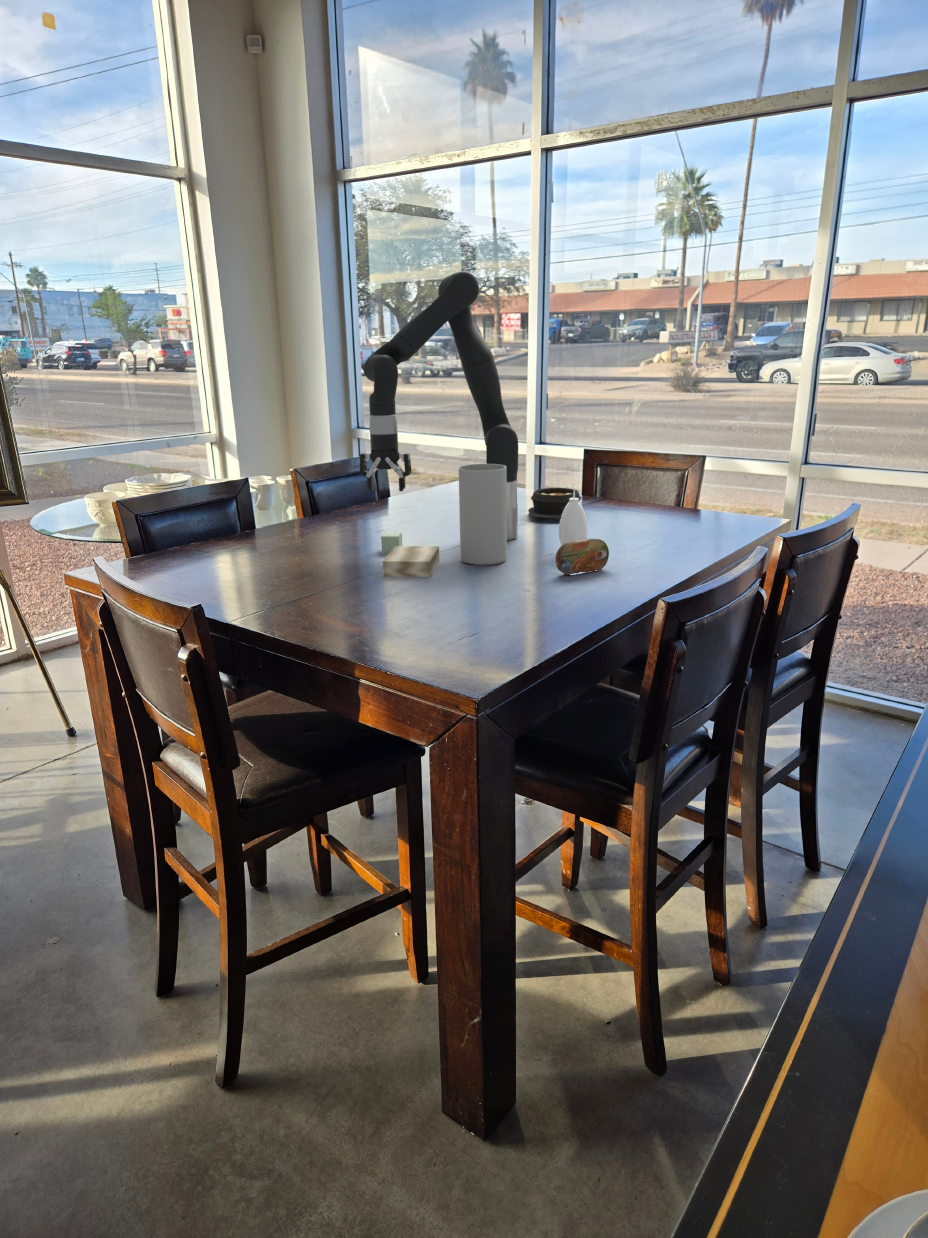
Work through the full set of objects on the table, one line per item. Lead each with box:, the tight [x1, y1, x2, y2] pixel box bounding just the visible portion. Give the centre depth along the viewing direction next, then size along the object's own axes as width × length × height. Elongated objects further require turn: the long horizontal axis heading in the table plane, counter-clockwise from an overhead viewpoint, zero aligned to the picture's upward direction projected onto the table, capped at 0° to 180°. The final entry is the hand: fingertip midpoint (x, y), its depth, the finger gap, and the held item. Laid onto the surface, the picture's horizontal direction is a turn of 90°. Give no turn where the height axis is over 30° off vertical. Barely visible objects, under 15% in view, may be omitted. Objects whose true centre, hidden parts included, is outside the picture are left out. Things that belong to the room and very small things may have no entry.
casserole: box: [527, 487, 582, 519], centre depth 267 cm, size 25×19×8 cm
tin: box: [555, 538, 610, 576], centre depth 201 cm, size 15×3×8 cm, turn 117°
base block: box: [382, 545, 440, 578], centre depth 208 cm, size 12×16×4 cm
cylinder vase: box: [458, 463, 508, 566], centre depth 211 cm, size 12×12×25 cm
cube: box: [380, 531, 404, 554], centre depth 226 cm, size 5×5×5 cm
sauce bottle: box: [558, 488, 589, 546], centre depth 217 cm, size 8×8×18 cm
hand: (386, 490), depth 223 cm, fingers open, 8 cm apart
